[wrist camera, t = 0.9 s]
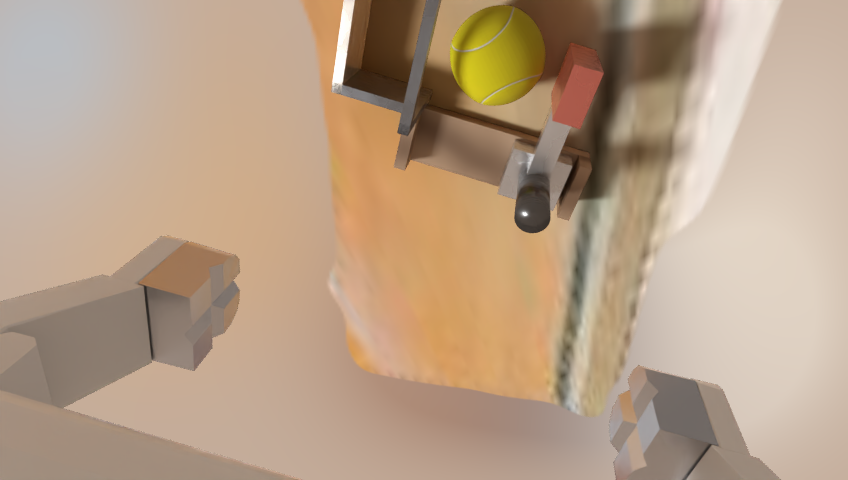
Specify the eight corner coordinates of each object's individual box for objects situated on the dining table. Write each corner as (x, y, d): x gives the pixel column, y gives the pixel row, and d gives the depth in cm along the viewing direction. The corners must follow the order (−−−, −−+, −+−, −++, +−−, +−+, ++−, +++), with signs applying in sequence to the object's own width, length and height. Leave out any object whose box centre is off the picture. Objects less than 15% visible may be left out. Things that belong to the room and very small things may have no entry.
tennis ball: (442, 27, 43) (426, 46, 37) (522, -19, 40) (518, -7, 34) (481, 104, 45) (471, 132, 40) (559, 65, 42) (561, 90, 37)
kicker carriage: (551, 37, 40) (552, 64, 33) (614, 55, 40) (629, 87, 33) (499, 183, 48) (490, 232, 40) (552, 199, 47) (554, 251, 40)
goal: (373, -75, 40) (334, -72, 32) (466, -48, 40) (448, -38, 32) (350, 75, 46) (312, 107, 39) (430, 99, 46) (407, 136, 38)
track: (414, 100, 46) (405, 113, 43) (589, 152, 46) (592, 169, 43) (403, 151, 49) (393, 167, 46) (567, 201, 48) (568, 220, 45)
